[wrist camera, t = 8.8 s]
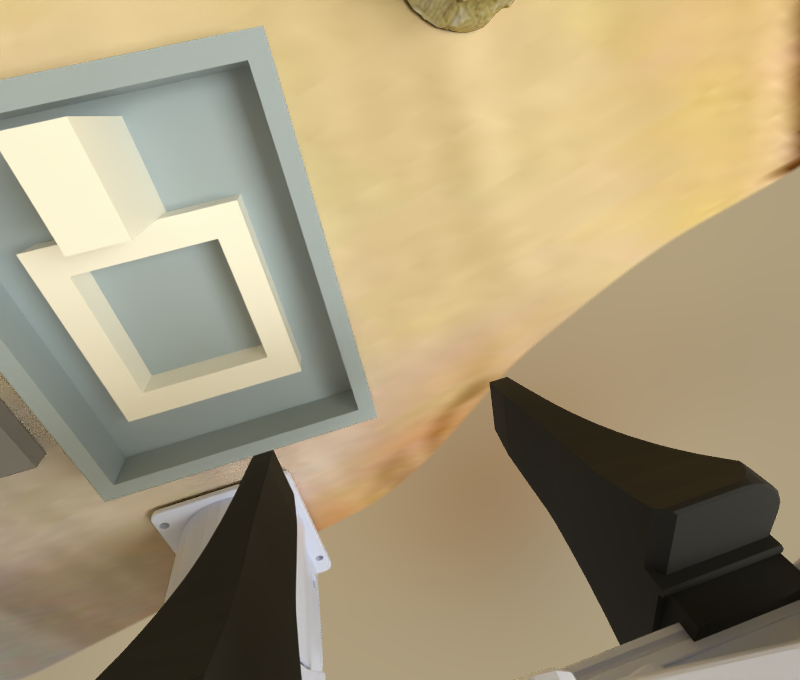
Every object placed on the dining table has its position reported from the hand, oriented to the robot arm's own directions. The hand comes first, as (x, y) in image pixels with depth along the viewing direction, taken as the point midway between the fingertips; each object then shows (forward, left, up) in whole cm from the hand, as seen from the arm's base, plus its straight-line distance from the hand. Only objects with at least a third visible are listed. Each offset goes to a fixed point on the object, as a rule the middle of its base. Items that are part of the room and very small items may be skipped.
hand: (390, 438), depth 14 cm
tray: (+4, +7, -9) cm, 12 cm away
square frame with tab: (+5, +7, -9) cm, 12 cm away
